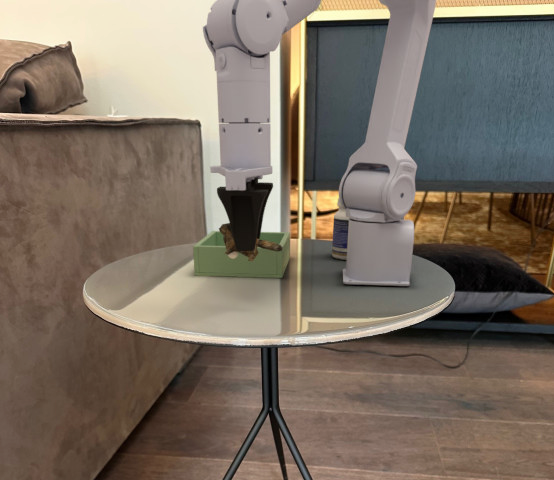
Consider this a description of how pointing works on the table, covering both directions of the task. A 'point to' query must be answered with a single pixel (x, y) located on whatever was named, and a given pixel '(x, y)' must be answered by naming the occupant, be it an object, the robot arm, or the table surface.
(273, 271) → the basket
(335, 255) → the pill bottle
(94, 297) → the table surface
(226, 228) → the cat figurine
